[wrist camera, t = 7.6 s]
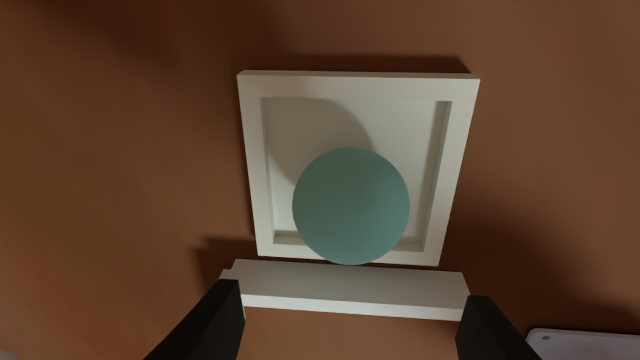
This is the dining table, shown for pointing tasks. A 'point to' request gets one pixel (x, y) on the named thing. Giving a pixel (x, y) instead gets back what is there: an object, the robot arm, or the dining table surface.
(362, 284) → the wall
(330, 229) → the ball
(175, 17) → the dining table surface
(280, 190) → the white tray
